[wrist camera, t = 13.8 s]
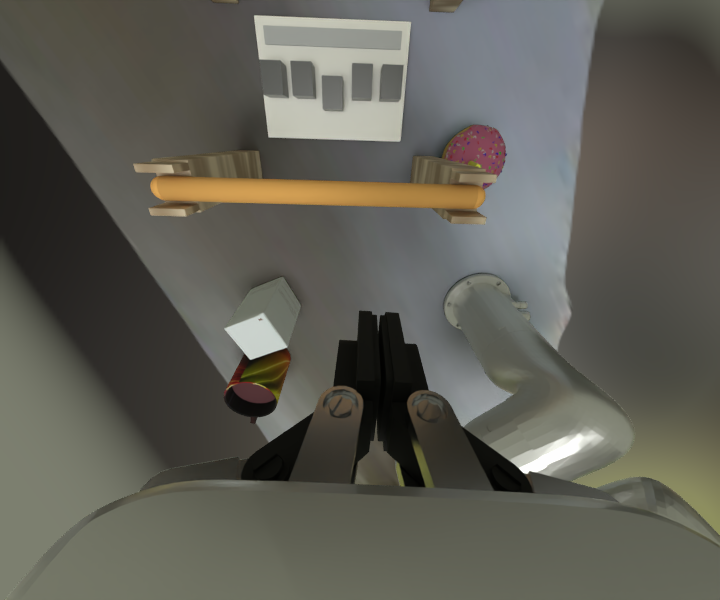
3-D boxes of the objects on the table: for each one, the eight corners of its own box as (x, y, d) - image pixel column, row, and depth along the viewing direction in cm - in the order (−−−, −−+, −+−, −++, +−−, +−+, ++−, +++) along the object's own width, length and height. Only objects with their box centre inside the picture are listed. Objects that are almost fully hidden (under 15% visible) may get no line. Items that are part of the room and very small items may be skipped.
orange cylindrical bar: (482, 183, 25) (492, 187, 23) (477, 206, 26) (485, 211, 24) (156, 174, 24) (141, 176, 23) (164, 197, 25) (149, 202, 24)
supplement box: (249, 288, 53) (221, 327, 42) (283, 275, 51) (264, 312, 40) (270, 318, 56) (249, 361, 45) (302, 306, 55) (288, 348, 44)
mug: (265, 387, 66) (247, 433, 56) (238, 344, 60) (213, 387, 49) (303, 380, 65) (292, 426, 55) (280, 335, 58) (264, 377, 48)
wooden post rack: (461, -42, 31) (625, -327, 12) (428, 187, 44) (484, 226, 24) (204, -53, 31) (-54, -373, 12) (244, 182, 43) (151, 217, 24)
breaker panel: (407, 30, 34) (415, 11, 29) (397, 141, 41) (403, 141, 35) (261, 24, 34) (244, 4, 29) (274, 137, 40) (262, 137, 35)
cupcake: (433, 192, 44) (457, 209, 34) (433, 131, 40) (459, 128, 30) (488, 184, 44) (529, 198, 33) (493, 120, 39) (542, 114, 29)
